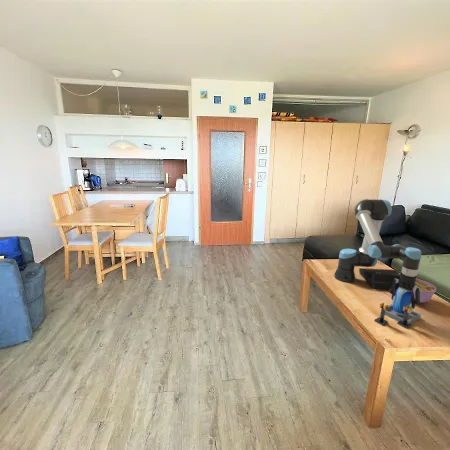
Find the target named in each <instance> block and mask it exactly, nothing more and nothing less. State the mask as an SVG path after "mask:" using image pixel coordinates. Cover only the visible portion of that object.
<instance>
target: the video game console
mask: <svg viewBox="0 0 450 450" xmlns="http://www.w3.org/2000/svg"><path fill="white" fill-rule="evenodd" d="M358 271H359V275H360V276H362V277H363V279H364V280H366V282H367V283H368V284H370V286H371V287H372V288H373V289H378V290H379V289H380V290H382V289H383V290H390V289H391V287H392V284H393V280H394V279H396V278H397V279H398V280H399V279H400V275H401V272H399V271H397V269H387V268H369V267H359V268H358ZM399 286H400V284H399V282H398V283H397V285H396V287H395V289H394V291H395V290H396V289H397V288H398V287H399Z"/></svg>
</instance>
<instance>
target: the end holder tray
mask: <svg viewBox="0 0 450 450" xmlns="http://www.w3.org/2000/svg"><path fill="white" fill-rule="evenodd" d="M388 305H389V306H388V309H387V310H385V315H384V316H387V317H389V318H390V319H392V320H395V321H396V322H399V321H402V322H403V317H404V316H403V315H399V314H397V313H396V312H395V311H394V310H393V306H392V303H391V304H388ZM421 317H422V314H421V313H418V312H417V311H415V310H412V312H411V313H410V314H409V315H408V320H407V324H413V323H415V322H417V321H418V320H420V319H421Z"/></svg>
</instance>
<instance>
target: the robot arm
mask: <svg viewBox="0 0 450 450" xmlns="http://www.w3.org/2000/svg"><path fill="white" fill-rule="evenodd" d="M392 211H393V207H392V204H391V202H390V201H389V200H387V199H381V198H380V199H368V198H367V199H362V200H360V201H359V202H358V203H357V204H356V205H355V207H354V216H355V219H357V220H358V221H359V224H360V226H361V228H362V230H363V233H364V237H363V240H362V244H361V247H359V248H358V251H357V250H356V249H354V248H343V249H341V250H340V251H339V255H338V261H337V268H336V270H335V272H334V275H333V277H334V278H335V279H336V280H338V281H340V282H344V283H353V282H355V281H356V275H355V267H356V268H357V267H359V268H372V267H375V266H376V265H377V263H378V261H379V259H397V260H398V259H399V260H401V261H402V266H401V269H400V274H401V275H400V279H399V280H398V279H397V278H396V279H394V280H393V284H392V287H391V289H389V290H388V293H389V294H391V300H392V302H391V304H392V306H393V305H394V300H395V295H396V290H397V289H398V288H399V287H400V288H401V287H402V288H403V289H406V290H408V291H409V292H411V295H412V294H413V295H412V296H411V303H410V306H409V308H410V307H412V310H414V309H415V308H416V305H419V304H421V303H420V290H421V287H417V286H416V285H415V281H416V279H417V275H418V272H419V267H420V262H421V259H422V251H421V249H419V248H416V247H405V246H404V245H402V244H398V243H396V244H393V245H385V244H384V242H383V240H382V238H381V235H380V231H381V228H382V224H383V221H386V218H387V217H390V215H392ZM398 282H399V284H400V286H399V287H398V288H397V289H396V290H394V289H395V287H396V285H397V283H398ZM413 288H415V290H416V291H415V296H414V293H413ZM410 313H411V312H410ZM410 313H409V314H410Z"/></svg>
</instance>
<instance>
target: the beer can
mask: <svg viewBox="0 0 450 450" xmlns="http://www.w3.org/2000/svg"><path fill="white" fill-rule="evenodd" d="M412 295H413V294H412ZM412 295H411V292H409V291H408V290H406V289H403V288H402V287H401V288H400V287H399V288H398V289H397V290H396V295H395V300H394V305H393V310H394V311H395V312H396V313H397V314H399V315H403V316H404V313H405V311H403V306H405V305H407V306H408V307H407V310H408V308H409V306H410V303H411V296H412Z"/></svg>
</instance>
